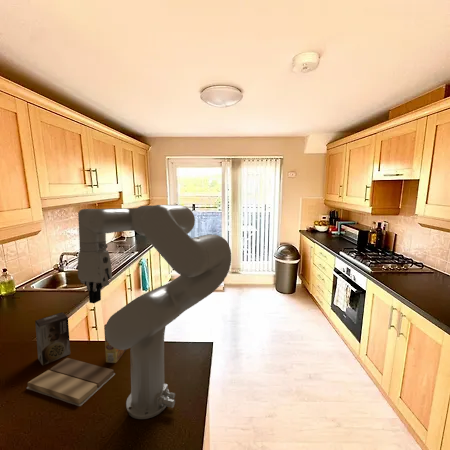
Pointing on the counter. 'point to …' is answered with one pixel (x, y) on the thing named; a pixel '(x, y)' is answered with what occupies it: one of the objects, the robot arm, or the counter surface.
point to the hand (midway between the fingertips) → (95, 301)
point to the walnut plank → (83, 371)
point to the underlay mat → (70, 401)
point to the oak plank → (63, 386)
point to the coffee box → (52, 338)
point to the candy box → (112, 352)
